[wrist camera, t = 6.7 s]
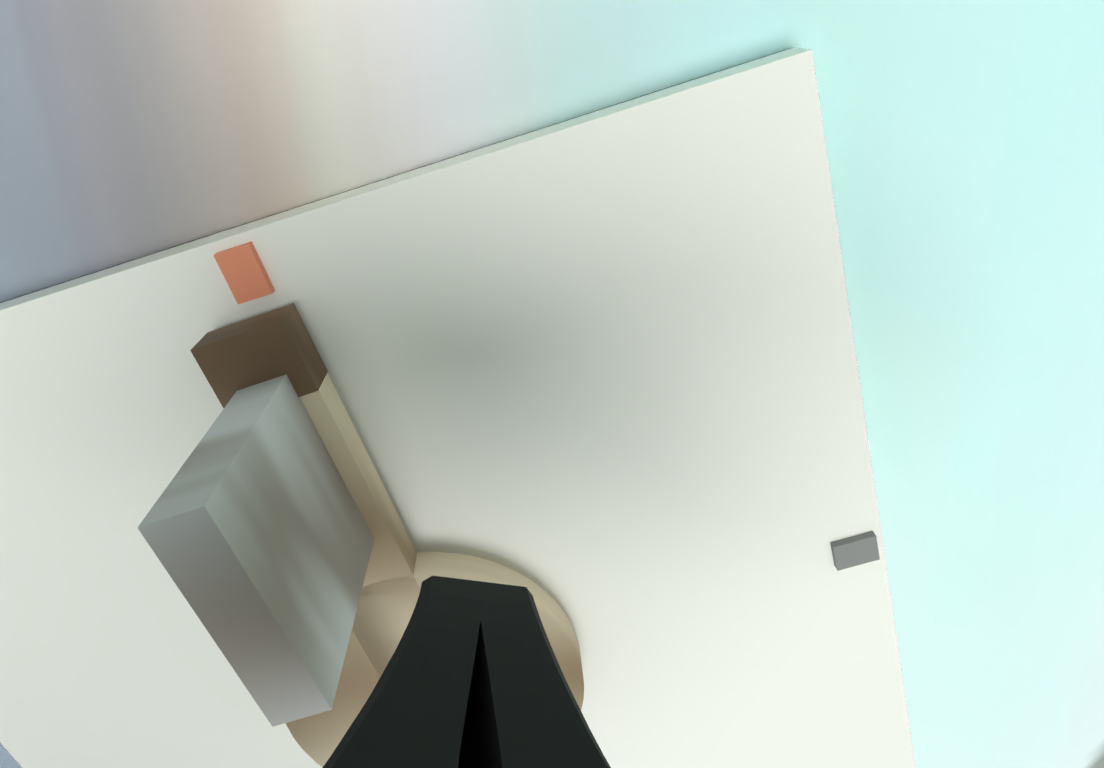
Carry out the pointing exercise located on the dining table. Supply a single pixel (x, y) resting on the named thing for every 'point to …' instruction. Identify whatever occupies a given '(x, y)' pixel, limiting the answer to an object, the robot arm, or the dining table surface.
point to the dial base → (496, 437)
